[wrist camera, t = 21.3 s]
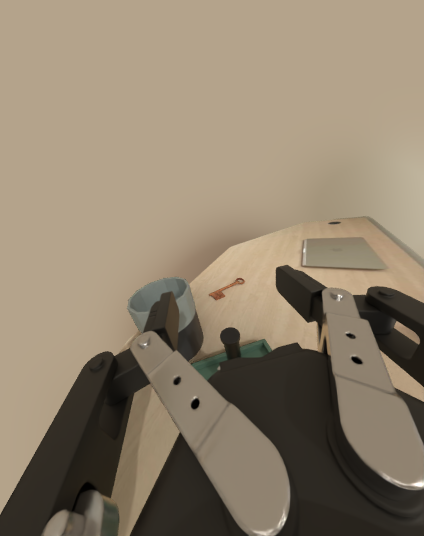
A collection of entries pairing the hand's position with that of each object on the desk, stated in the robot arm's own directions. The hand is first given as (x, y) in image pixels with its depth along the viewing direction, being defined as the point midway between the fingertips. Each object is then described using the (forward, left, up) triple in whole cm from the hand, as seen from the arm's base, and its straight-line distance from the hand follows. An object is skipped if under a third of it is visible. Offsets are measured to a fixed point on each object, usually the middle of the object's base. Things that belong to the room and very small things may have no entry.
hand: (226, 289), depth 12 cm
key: (+16, +36, -26) cm, 47 cm away
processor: (-6, +23, -26) cm, 35 cm away
